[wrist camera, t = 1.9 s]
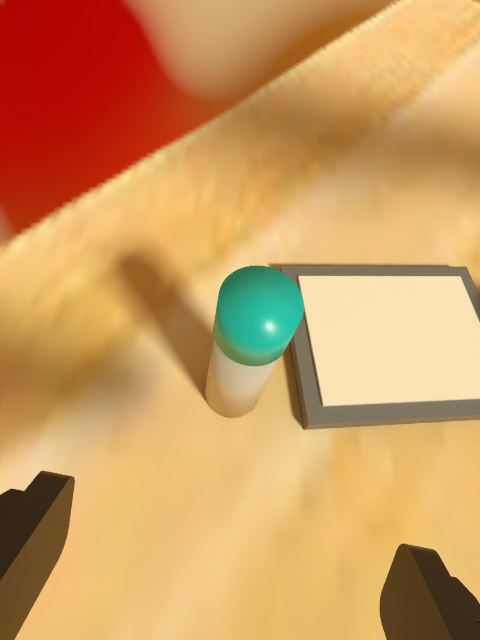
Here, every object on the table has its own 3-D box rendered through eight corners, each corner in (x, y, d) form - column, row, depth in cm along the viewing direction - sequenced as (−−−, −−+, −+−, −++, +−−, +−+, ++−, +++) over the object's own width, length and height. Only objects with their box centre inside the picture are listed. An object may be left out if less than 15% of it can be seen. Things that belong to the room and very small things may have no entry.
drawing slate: (458, 274, 32) (467, 264, 31) (518, 417, 27) (531, 411, 26) (278, 274, 30) (282, 263, 29) (304, 429, 25) (309, 423, 24)
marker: (256, 364, 27) (297, 266, 18) (263, 417, 25) (310, 338, 16) (201, 365, 26) (215, 265, 17) (204, 421, 24) (221, 340, 16)
